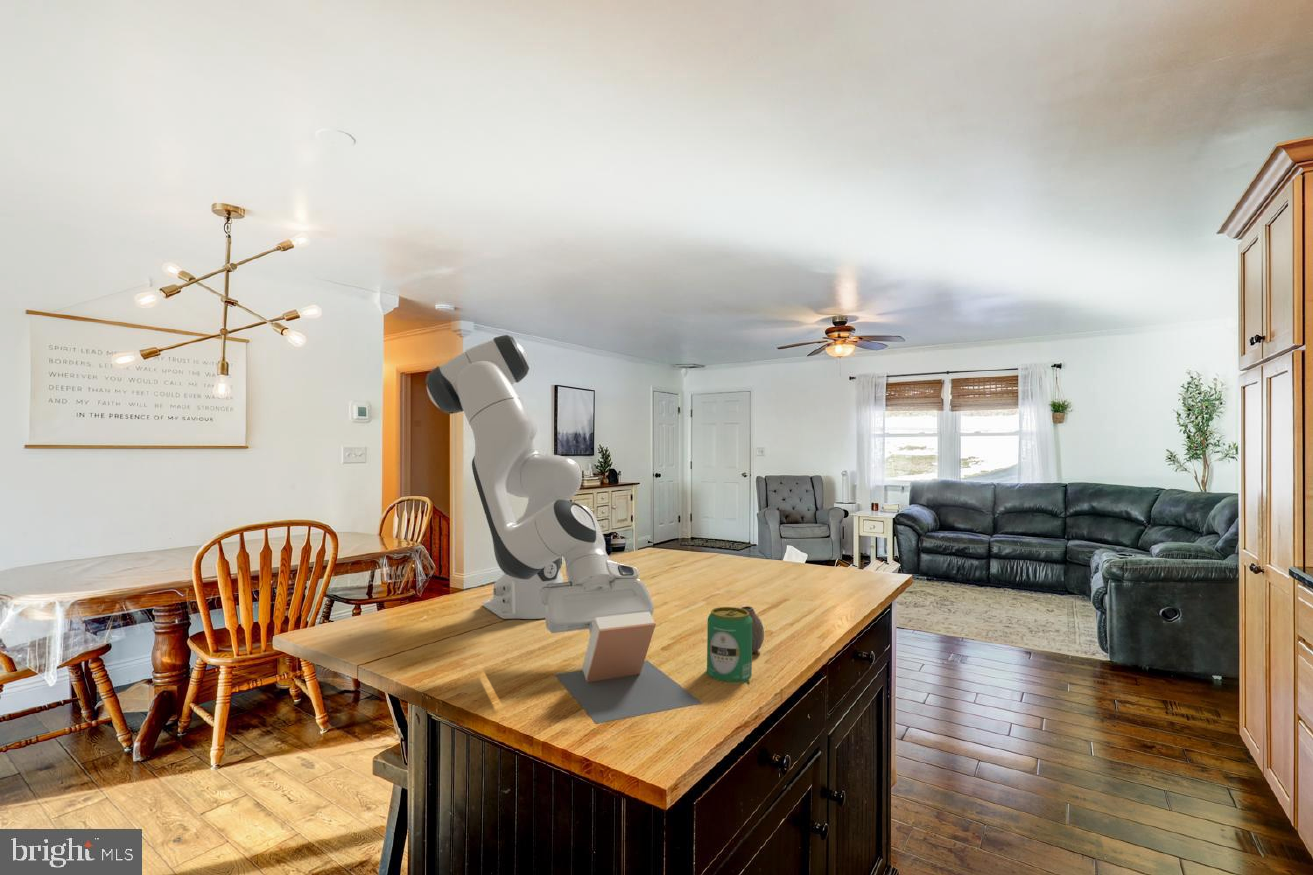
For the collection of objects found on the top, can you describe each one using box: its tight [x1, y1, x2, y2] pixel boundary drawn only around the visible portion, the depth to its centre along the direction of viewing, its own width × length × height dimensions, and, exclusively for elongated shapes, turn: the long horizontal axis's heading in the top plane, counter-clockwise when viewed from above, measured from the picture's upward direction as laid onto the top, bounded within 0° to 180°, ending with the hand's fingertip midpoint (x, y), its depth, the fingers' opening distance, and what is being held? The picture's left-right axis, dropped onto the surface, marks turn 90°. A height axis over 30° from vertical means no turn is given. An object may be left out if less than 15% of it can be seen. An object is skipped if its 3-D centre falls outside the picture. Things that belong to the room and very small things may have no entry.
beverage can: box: [706, 606, 753, 684], centre depth 111 cm, size 8×8×12 cm
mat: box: [554, 660, 703, 725], centre depth 103 cm, size 21×18×1 cm
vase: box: [740, 605, 765, 654], centre depth 126 cm, size 7×7×9 cm
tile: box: [581, 612, 656, 682], centre depth 106 cm, size 3×10×12 cm, turn 115°
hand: (609, 647), depth 109 cm, fingers closed
